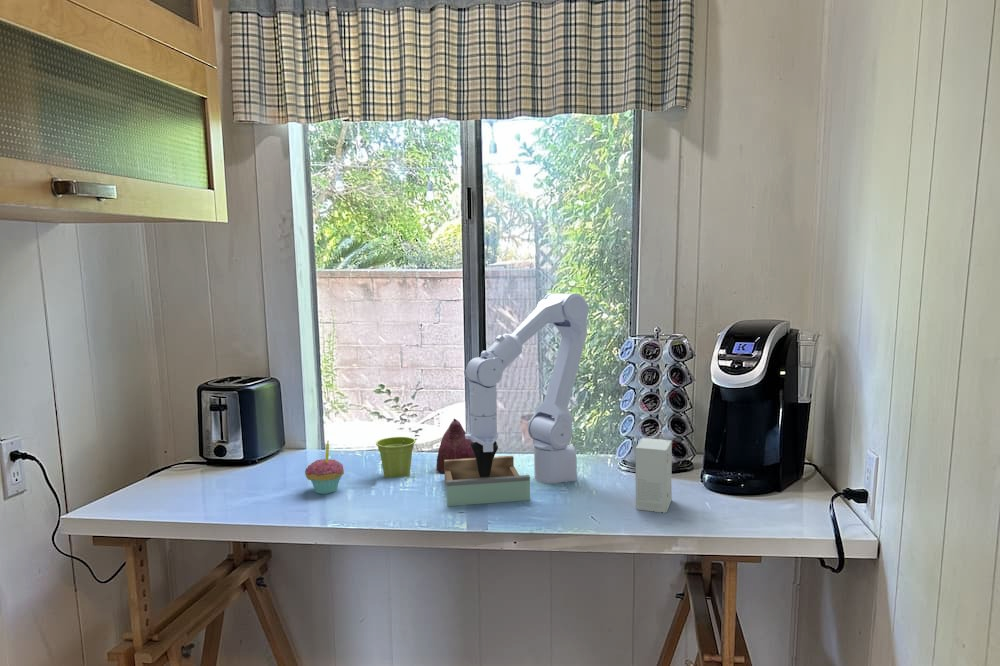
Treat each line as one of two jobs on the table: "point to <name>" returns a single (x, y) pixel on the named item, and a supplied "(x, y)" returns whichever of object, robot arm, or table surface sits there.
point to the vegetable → (454, 445)
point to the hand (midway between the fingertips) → (484, 476)
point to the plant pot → (396, 456)
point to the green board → (488, 490)
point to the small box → (653, 475)
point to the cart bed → (469, 470)
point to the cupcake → (325, 474)
